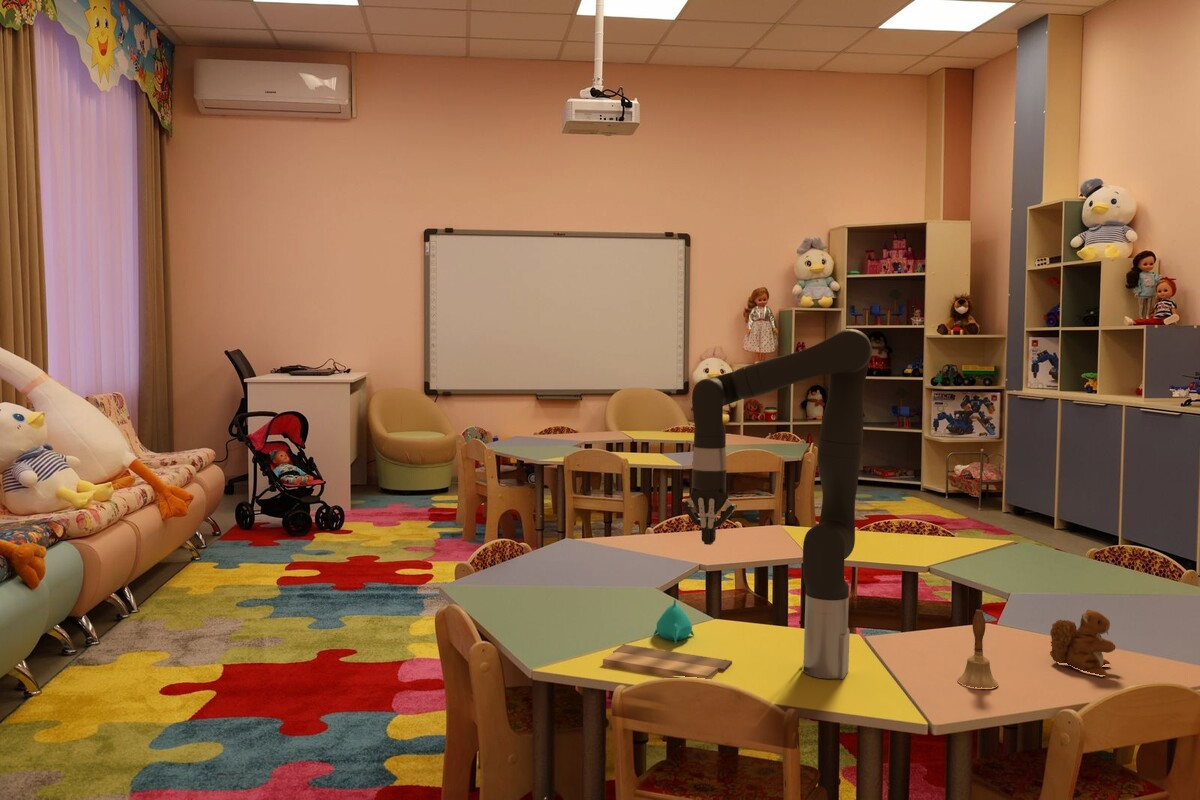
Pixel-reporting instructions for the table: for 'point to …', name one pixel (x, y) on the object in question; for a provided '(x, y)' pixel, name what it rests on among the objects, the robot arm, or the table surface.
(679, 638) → the toy shark
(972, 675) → the hand bell
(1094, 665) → the stuffed squirrel
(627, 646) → the base strip
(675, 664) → the plank
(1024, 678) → the table surface
